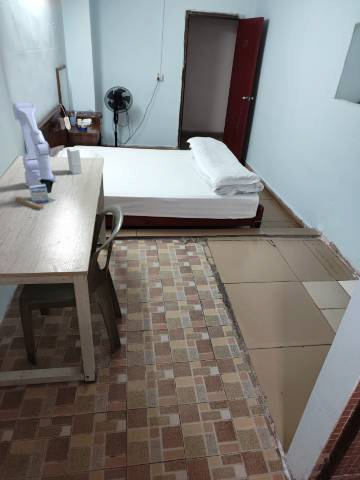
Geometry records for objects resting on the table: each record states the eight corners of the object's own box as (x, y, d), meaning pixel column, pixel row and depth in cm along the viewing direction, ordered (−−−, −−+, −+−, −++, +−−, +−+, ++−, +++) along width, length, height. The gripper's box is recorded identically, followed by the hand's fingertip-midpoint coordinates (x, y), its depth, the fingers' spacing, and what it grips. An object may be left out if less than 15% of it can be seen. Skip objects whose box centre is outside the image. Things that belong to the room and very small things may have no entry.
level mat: (15, 201, 169) (14, 197, 168) (36, 193, 179) (35, 189, 178) (40, 210, 162) (39, 206, 161) (60, 201, 172) (59, 197, 171)
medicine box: (32, 204, 167) (29, 188, 163) (31, 200, 170) (28, 184, 166) (49, 201, 170) (46, 185, 166) (47, 198, 174) (44, 182, 169)
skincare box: (82, 173, 210) (80, 150, 202) (72, 174, 207) (70, 151, 199) (77, 169, 216) (75, 146, 208) (68, 170, 213) (66, 147, 205)
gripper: (61, 168, 168) (64, 193, 175) (40, 162, 174) (44, 187, 181) (50, 171, 163) (54, 197, 170) (29, 166, 168) (34, 191, 175)
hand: (48, 192), depth 175 cm, fingers closed
